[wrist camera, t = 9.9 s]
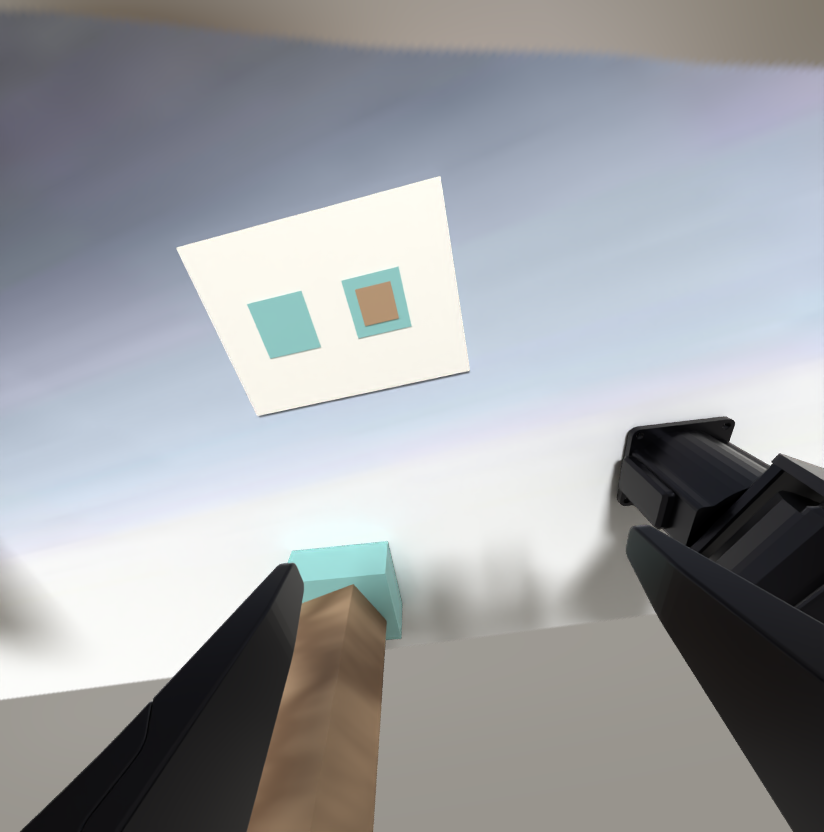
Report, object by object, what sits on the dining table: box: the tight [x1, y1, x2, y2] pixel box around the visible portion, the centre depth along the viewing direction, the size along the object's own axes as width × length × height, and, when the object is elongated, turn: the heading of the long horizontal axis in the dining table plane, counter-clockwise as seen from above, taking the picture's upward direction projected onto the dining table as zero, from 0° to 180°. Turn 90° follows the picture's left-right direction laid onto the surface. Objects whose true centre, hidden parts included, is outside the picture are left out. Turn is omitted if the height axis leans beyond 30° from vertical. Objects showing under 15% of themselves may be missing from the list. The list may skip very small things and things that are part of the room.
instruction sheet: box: [176, 176, 470, 416], centre depth 18 cm, size 14×10×1 cm
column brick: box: [247, 584, 387, 832], centre depth 20 cm, size 5×5×12 cm
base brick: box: [288, 541, 402, 640], centre depth 27 cm, size 8×8×3 cm
